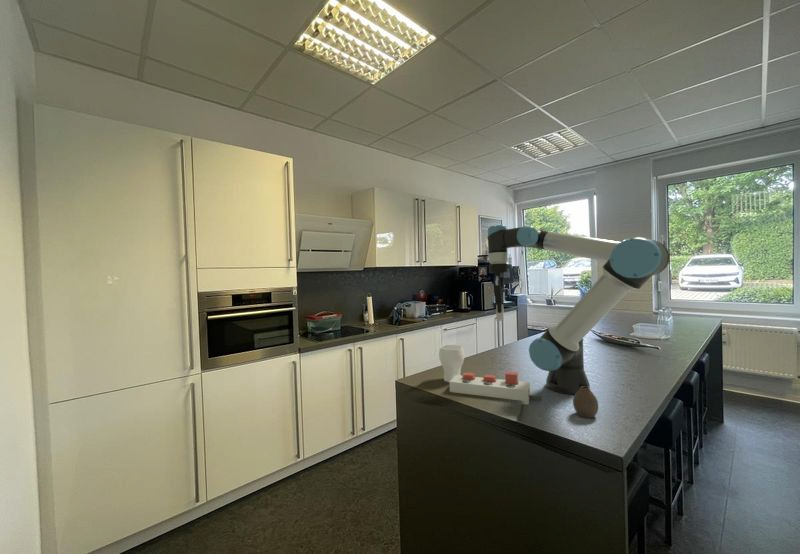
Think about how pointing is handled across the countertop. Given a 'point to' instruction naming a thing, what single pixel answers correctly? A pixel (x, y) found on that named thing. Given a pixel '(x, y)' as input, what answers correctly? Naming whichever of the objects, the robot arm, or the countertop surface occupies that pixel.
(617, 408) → the countertop surface
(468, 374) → the button
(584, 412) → the vase
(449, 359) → the cup
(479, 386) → the strip
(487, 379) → the button
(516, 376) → the button
